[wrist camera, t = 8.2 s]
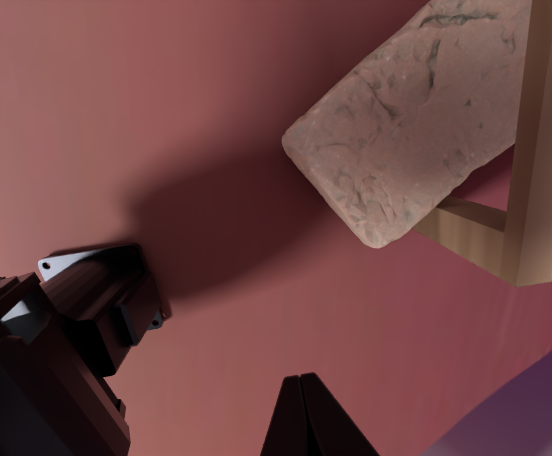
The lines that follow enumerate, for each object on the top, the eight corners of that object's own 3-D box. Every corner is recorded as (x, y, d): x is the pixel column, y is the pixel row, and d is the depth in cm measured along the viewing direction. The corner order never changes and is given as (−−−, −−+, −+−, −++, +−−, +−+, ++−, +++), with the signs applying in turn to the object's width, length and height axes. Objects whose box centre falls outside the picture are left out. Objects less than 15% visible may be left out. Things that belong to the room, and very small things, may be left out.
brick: (505, -76, 15) (613, -170, 10) (564, 61, 17) (673, 33, 12) (272, 139, 17) (277, 139, 13) (350, 232, 20) (377, 260, 15)
